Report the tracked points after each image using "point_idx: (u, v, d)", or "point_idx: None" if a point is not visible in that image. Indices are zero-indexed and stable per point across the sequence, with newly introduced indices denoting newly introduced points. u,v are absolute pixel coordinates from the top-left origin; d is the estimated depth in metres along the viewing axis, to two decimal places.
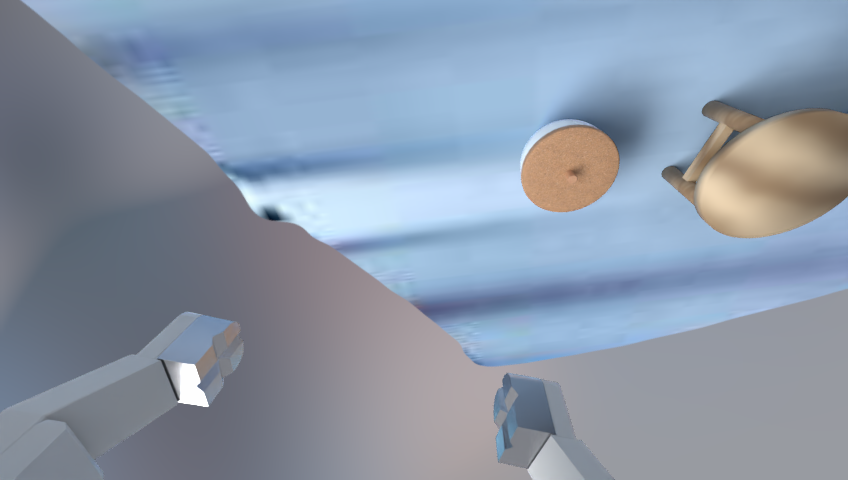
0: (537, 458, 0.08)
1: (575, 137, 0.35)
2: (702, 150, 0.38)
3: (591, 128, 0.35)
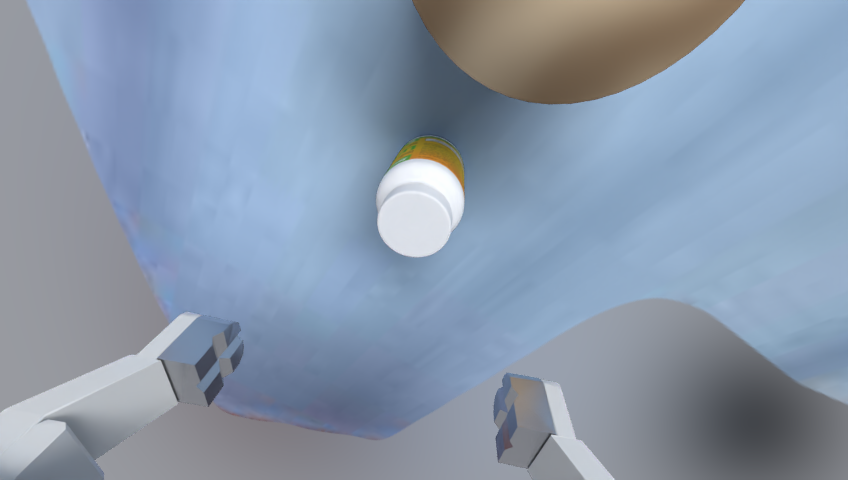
0: (537, 458, 0.08)
1: None
2: None
3: None
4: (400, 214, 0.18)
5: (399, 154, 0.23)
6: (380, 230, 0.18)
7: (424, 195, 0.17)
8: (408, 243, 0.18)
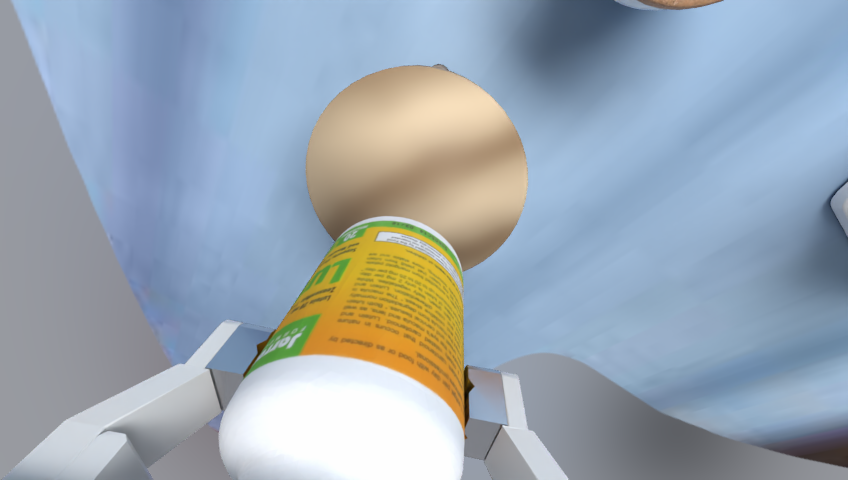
0: (491, 449, 0.08)
1: None
2: None
3: None
4: None
5: (313, 278, 0.10)
6: None
7: None
8: None
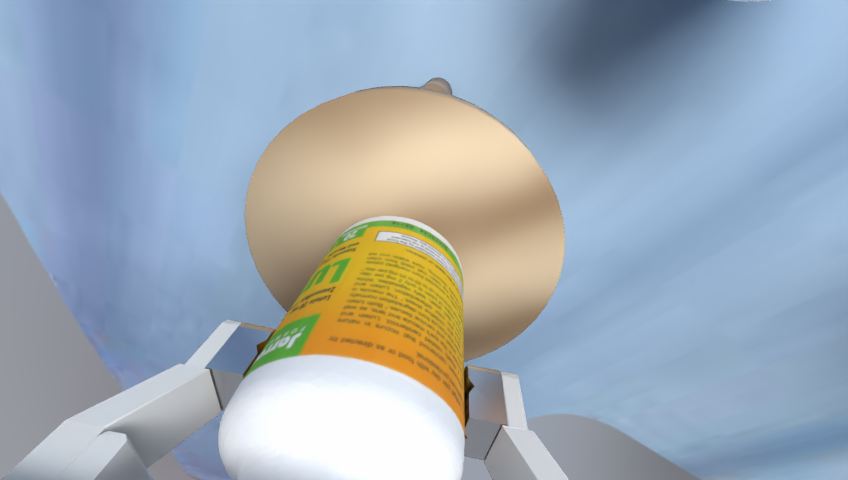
0: (491, 449, 0.08)
1: None
2: None
3: None
4: None
5: (313, 278, 0.10)
6: None
7: None
8: None
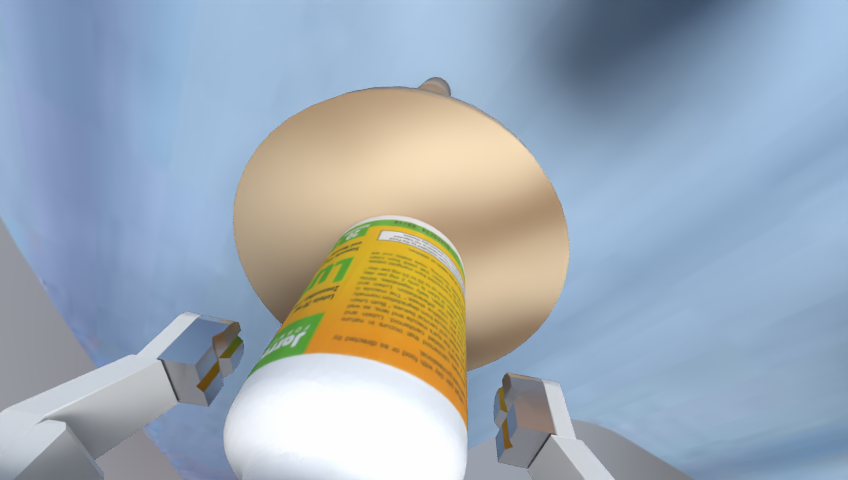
0: (537, 458, 0.08)
1: None
2: None
3: None
4: None
5: (316, 277, 0.10)
6: None
7: None
8: None
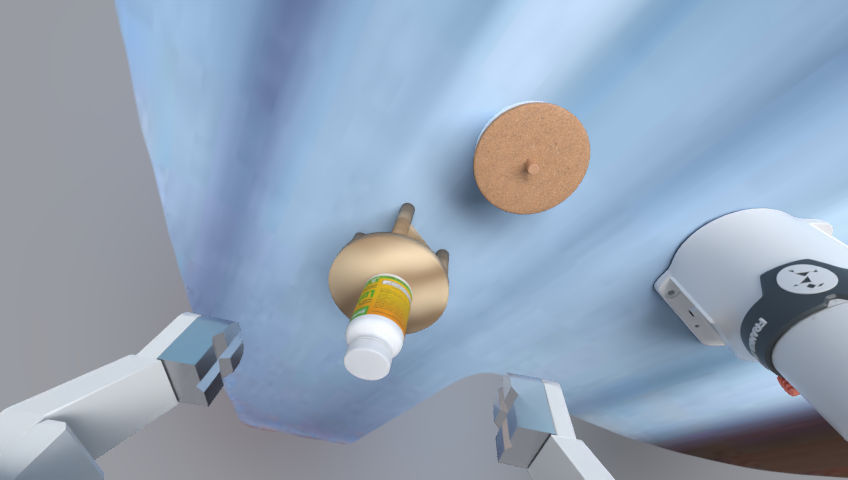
0: (537, 458, 0.08)
1: (559, 193, 0.32)
2: (427, 246, 0.41)
3: (550, 207, 0.33)
4: (357, 359, 0.28)
5: (363, 295, 0.33)
6: (346, 366, 0.29)
7: (371, 351, 0.27)
8: (363, 373, 0.29)
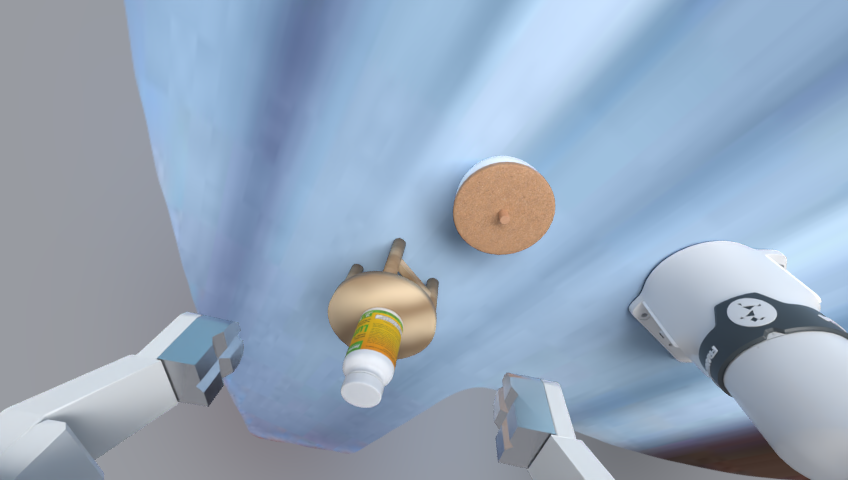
0: (537, 458, 0.08)
1: (530, 237, 0.35)
2: (417, 278, 0.45)
3: None
4: (352, 390, 0.32)
5: (358, 329, 0.37)
6: (343, 396, 0.33)
7: (364, 384, 0.31)
8: (358, 402, 0.33)
